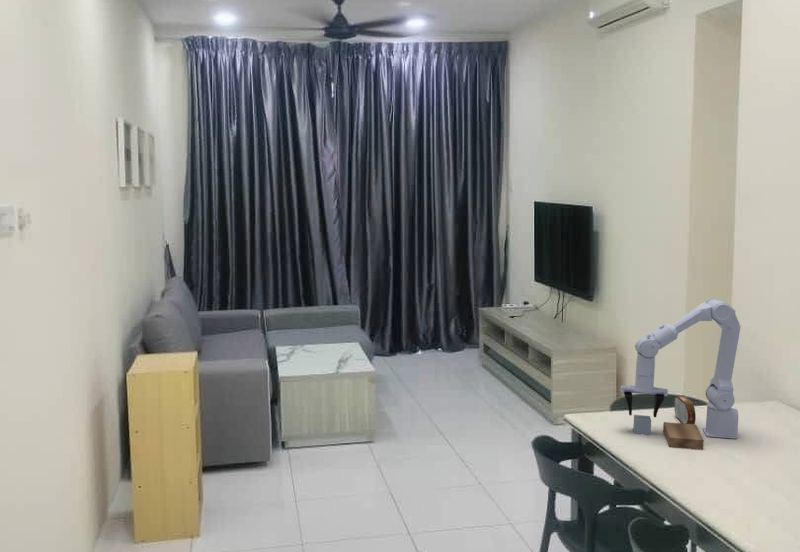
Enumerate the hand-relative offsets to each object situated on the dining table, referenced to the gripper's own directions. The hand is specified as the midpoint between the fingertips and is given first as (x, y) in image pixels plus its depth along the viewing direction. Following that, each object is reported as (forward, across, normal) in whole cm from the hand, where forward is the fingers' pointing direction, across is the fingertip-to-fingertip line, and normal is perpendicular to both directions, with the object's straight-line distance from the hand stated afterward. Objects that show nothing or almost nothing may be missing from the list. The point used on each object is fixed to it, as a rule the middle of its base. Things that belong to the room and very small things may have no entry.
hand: (642, 415), depth 263 cm
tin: (+6, -15, -15) cm, 22 cm away
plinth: (+6, -12, +5) cm, 14 cm away
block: (+6, 0, 0) cm, 6 cm away
